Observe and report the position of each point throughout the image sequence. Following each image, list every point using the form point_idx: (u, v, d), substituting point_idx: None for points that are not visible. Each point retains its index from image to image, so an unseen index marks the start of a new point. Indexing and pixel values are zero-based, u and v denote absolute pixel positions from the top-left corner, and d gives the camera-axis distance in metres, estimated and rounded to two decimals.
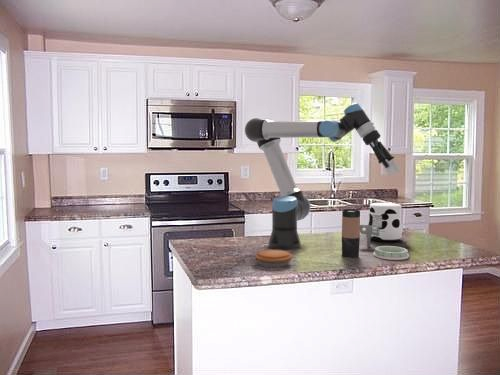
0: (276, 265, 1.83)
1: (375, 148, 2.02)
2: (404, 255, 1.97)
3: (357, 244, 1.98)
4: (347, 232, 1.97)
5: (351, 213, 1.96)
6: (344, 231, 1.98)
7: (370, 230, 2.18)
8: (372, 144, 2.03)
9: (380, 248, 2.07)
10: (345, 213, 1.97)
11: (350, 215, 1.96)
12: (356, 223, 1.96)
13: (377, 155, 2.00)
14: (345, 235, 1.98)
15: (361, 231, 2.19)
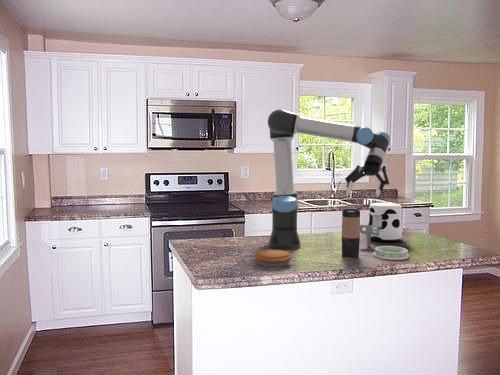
0: (276, 265, 1.83)
1: None
2: (404, 255, 1.97)
3: (357, 244, 1.98)
4: (347, 232, 1.97)
5: (351, 213, 1.96)
6: (344, 231, 1.98)
7: (370, 230, 2.18)
8: (385, 169, 2.11)
9: (380, 248, 2.07)
10: (345, 213, 1.97)
11: (350, 215, 1.96)
12: (356, 223, 1.96)
13: (387, 177, 2.07)
14: (345, 235, 1.98)
15: (361, 231, 2.19)
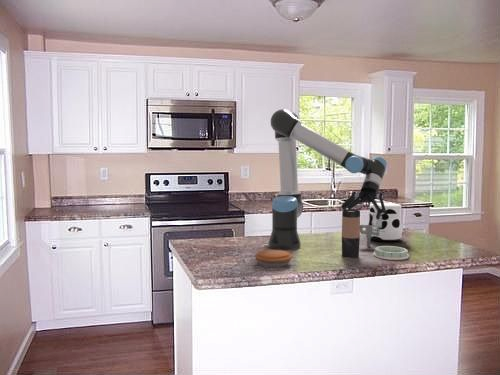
0: (276, 265, 1.83)
1: (382, 200, 2.05)
2: (404, 255, 1.97)
3: (357, 244, 1.98)
4: (347, 232, 1.97)
5: (351, 213, 1.96)
6: (344, 231, 1.98)
7: (370, 230, 2.18)
8: (382, 196, 2.07)
9: (380, 248, 2.07)
10: (345, 213, 1.97)
11: (350, 215, 1.96)
12: (356, 223, 1.96)
13: None
14: (345, 235, 1.98)
15: (361, 231, 2.19)
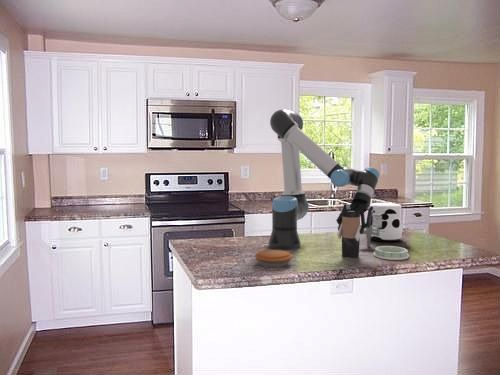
0: (276, 265, 1.83)
1: (371, 214, 2.01)
2: (404, 255, 1.97)
3: (357, 244, 1.98)
4: (347, 232, 1.97)
5: (351, 213, 1.96)
6: (344, 231, 1.98)
7: (370, 230, 2.18)
8: (372, 210, 2.02)
9: (380, 248, 2.07)
10: (345, 213, 1.97)
11: (350, 215, 1.96)
12: (356, 223, 1.96)
13: (369, 220, 1.98)
14: (345, 235, 1.98)
15: None
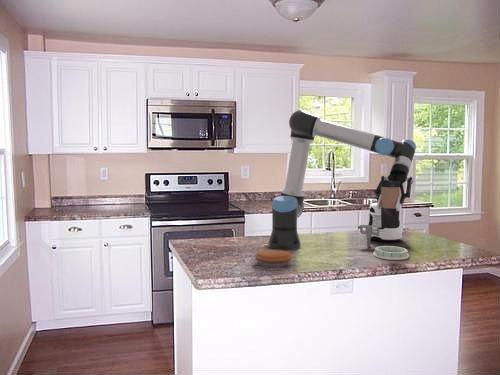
0: (276, 265, 1.83)
1: (410, 185, 2.00)
2: (404, 255, 1.97)
3: (397, 214, 1.97)
4: (387, 202, 1.97)
5: (391, 183, 1.95)
6: (383, 201, 1.98)
7: (370, 230, 2.18)
8: (411, 180, 2.01)
9: (380, 248, 2.07)
10: (385, 183, 1.97)
11: (390, 185, 1.96)
12: (396, 193, 1.96)
13: (409, 190, 1.98)
14: (385, 205, 1.97)
15: (361, 231, 2.19)
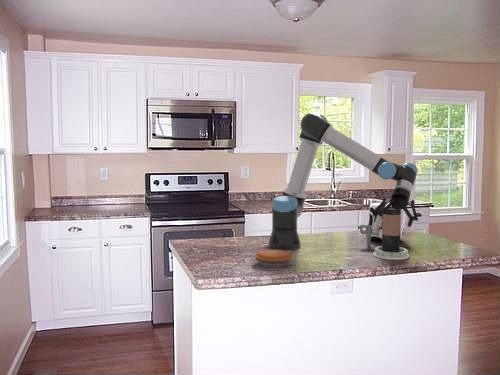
0: (276, 265, 1.83)
1: (414, 208, 2.02)
2: (404, 255, 1.97)
3: (398, 241, 1.99)
4: (388, 229, 1.98)
5: (392, 211, 1.97)
6: (385, 228, 2.00)
7: (370, 230, 2.18)
8: (414, 203, 2.03)
9: (380, 248, 2.07)
10: (386, 211, 1.98)
11: (391, 213, 1.97)
12: (397, 221, 1.98)
13: None
14: (386, 233, 1.99)
15: (361, 231, 2.19)
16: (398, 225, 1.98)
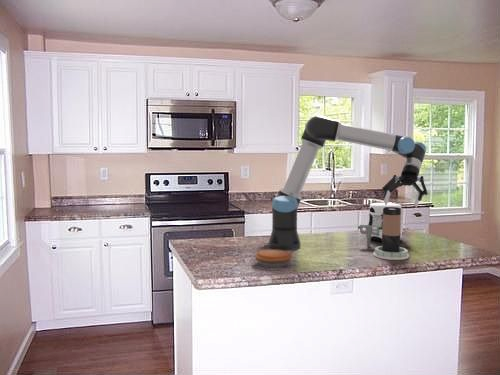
0: (276, 265, 1.83)
1: None
2: (404, 255, 1.97)
3: (398, 241, 1.99)
4: (388, 229, 1.98)
5: (392, 211, 1.97)
6: (385, 228, 1.99)
7: (370, 230, 2.18)
8: (423, 179, 2.12)
9: (380, 248, 2.07)
10: (386, 211, 1.98)
11: (391, 213, 1.97)
12: (397, 221, 1.98)
13: (425, 188, 2.08)
14: (386, 233, 1.99)
15: (361, 231, 2.19)
16: (398, 225, 1.98)
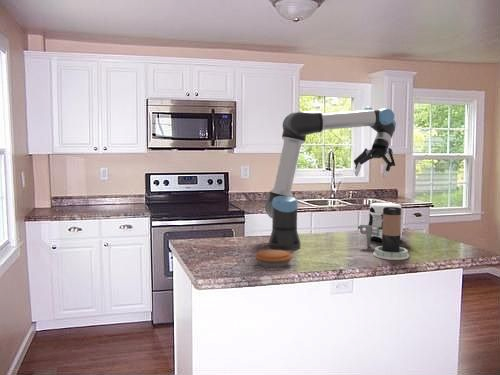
0: (276, 265, 1.83)
1: None
2: (404, 255, 1.97)
3: (398, 241, 1.99)
4: (388, 229, 1.98)
5: (393, 211, 1.97)
6: (385, 228, 1.99)
7: (370, 230, 2.18)
8: None
9: (380, 248, 2.07)
10: (386, 211, 1.98)
11: (392, 213, 1.97)
12: (397, 221, 1.98)
13: (393, 159, 2.20)
14: (386, 233, 1.99)
15: (361, 231, 2.19)
16: (398, 225, 1.98)
